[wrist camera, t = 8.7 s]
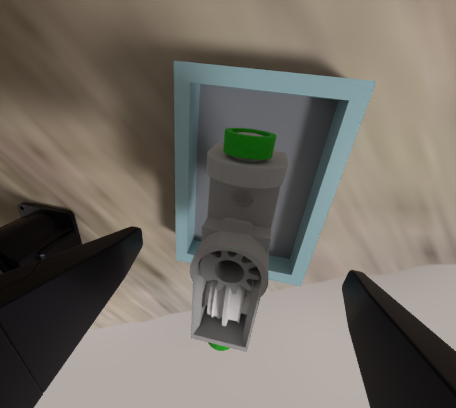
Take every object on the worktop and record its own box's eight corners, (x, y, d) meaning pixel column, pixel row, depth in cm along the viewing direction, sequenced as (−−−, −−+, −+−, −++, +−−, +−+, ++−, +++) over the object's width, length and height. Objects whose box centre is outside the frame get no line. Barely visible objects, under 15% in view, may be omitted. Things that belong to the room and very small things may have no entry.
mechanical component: (283, 116, 14) (304, 145, 5) (258, 239, 19) (247, 363, 10) (240, 111, 15) (193, 130, 6) (225, 233, 19) (187, 347, 10)
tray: (188, 239, 22) (175, 260, 19) (191, 67, 15) (173, 60, 12) (296, 260, 21) (300, 286, 18) (354, 84, 14) (376, 81, 11)
